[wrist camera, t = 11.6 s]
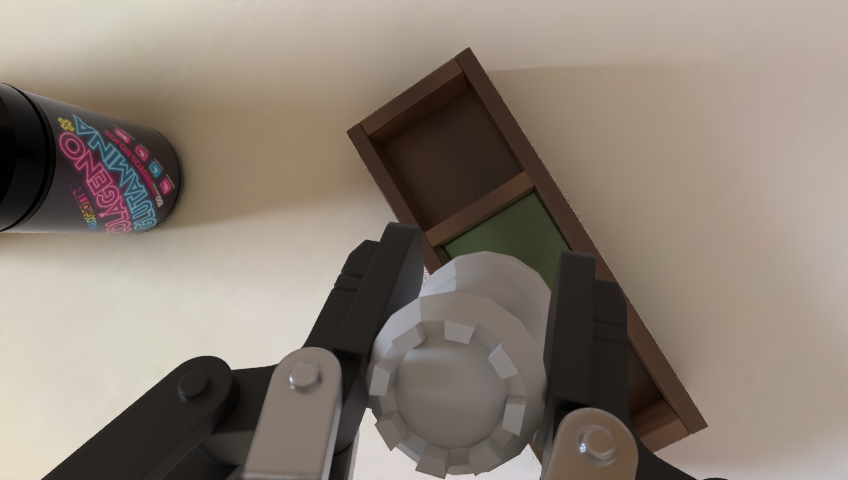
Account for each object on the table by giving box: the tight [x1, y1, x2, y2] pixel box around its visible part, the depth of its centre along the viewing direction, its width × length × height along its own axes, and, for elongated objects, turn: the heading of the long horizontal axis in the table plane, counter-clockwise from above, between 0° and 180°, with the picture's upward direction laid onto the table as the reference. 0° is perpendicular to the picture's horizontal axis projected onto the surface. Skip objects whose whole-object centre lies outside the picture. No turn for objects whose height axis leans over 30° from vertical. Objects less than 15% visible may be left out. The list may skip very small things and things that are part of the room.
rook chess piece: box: [366, 251, 552, 479], centre depth 12 cm, size 4×4×8 cm
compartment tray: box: [347, 47, 708, 466], centre depth 24 cm, size 7×20×4 cm, turn 31°
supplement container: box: [0, 82, 183, 234], centre depth 26 cm, size 7×7×10 cm
